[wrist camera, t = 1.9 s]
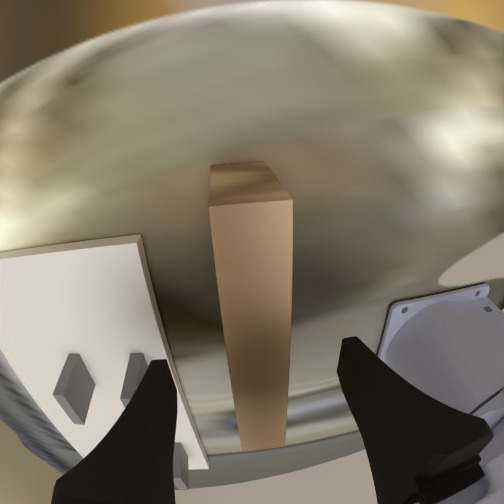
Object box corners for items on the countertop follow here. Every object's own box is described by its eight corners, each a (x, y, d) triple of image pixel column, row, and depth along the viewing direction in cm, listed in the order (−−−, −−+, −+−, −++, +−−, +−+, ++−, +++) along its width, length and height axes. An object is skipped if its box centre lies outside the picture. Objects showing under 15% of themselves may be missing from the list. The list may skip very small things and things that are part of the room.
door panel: (263, 160, 14) (292, 199, 9) (269, 372, 21) (284, 445, 16) (211, 164, 14) (208, 206, 9) (234, 375, 21) (242, 451, 15)
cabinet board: (140, 234, 15) (117, 283, 11) (208, 460, 26) (210, 499, 22) (-33, 257, 14) (-71, 294, 10) (90, 455, 25) (84, 490, 21)
